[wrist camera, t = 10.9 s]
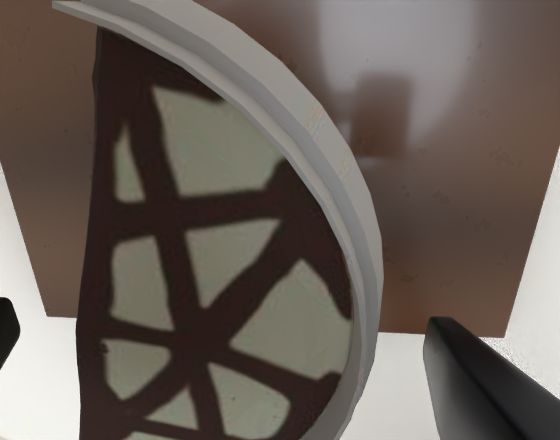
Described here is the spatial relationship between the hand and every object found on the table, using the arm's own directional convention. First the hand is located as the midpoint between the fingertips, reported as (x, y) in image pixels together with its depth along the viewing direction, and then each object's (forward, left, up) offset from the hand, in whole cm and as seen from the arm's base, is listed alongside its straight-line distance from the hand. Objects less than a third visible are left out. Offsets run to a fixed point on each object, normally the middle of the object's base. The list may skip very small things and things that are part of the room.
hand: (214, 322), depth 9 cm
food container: (0, 0, -9) cm, 9 cm away
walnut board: (0, 0, -9) cm, 9 cm away
